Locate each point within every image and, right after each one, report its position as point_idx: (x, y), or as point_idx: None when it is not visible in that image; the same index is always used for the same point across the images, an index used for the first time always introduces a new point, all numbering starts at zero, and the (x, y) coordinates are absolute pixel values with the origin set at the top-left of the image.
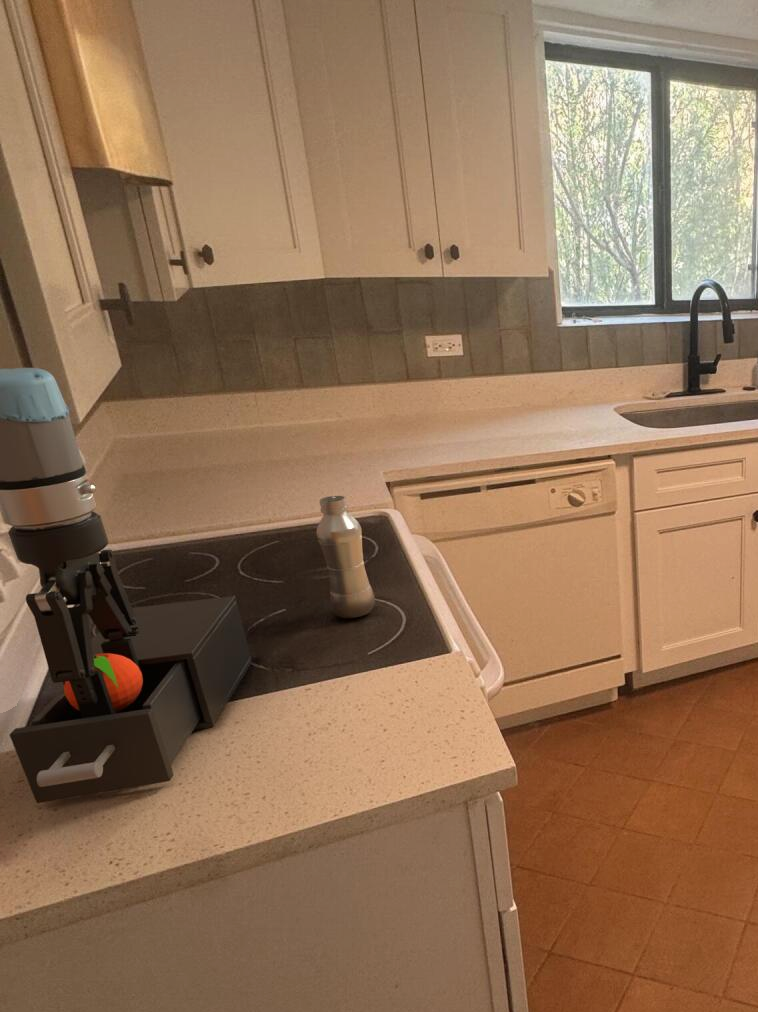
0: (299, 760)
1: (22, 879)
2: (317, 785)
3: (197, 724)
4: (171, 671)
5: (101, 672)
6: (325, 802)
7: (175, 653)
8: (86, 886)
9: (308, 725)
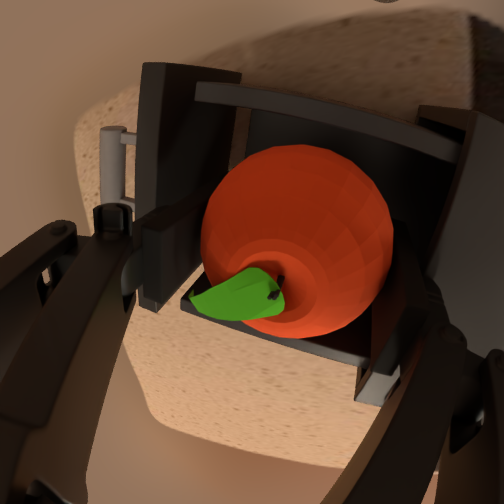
0: (212, 350)
1: (101, 108)
2: (163, 349)
3: None
4: (327, 352)
5: (166, 299)
6: (138, 346)
7: (378, 380)
8: (78, 173)
9: (288, 372)
